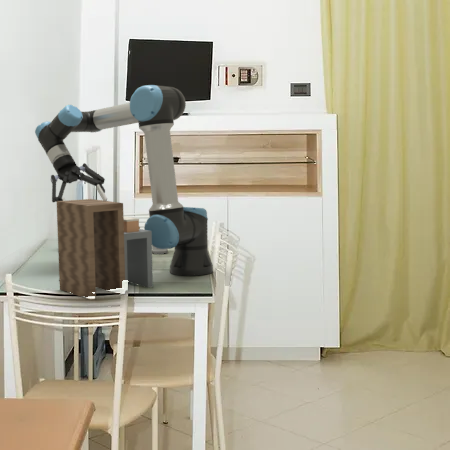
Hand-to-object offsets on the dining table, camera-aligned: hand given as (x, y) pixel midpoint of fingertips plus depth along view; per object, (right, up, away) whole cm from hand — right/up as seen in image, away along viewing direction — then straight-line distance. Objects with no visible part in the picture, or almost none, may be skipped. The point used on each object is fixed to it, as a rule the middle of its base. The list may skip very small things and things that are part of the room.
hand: (88, 207), depth 266 cm
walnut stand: (+7, -27, -31) cm, 42 cm away
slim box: (+11, -7, -18) cm, 22 cm away
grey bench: (+15, -25, -21) cm, 36 cm away
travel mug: (+22, -18, +44) cm, 52 cm away
